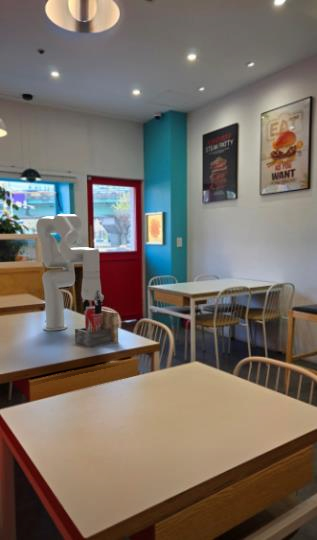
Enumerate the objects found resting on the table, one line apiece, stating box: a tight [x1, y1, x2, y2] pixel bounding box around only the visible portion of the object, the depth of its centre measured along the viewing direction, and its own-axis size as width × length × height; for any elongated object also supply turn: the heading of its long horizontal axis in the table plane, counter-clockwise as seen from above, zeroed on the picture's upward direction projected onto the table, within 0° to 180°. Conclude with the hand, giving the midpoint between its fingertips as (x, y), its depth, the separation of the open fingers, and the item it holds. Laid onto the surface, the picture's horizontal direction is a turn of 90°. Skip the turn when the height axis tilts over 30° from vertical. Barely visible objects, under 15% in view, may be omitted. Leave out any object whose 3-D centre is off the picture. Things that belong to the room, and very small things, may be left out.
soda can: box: [84, 305, 101, 333], centre depth 175 cm, size 7×7×13 cm
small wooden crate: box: [74, 308, 119, 348], centre depth 176 cm, size 18×13×14 cm
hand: (92, 312), depth 175 cm, fingers open, 9 cm apart
